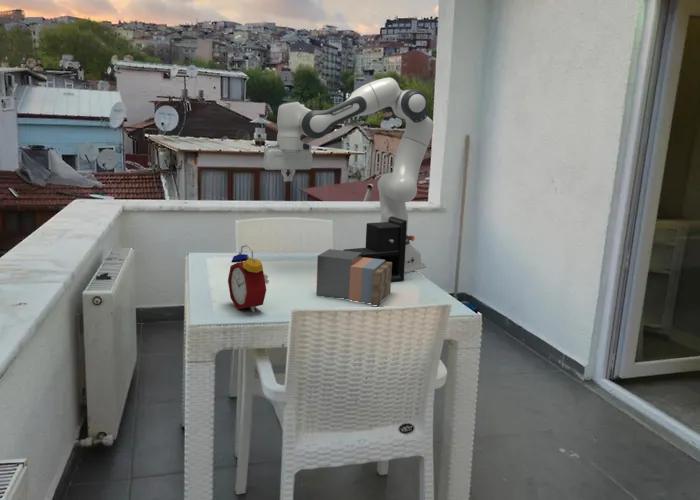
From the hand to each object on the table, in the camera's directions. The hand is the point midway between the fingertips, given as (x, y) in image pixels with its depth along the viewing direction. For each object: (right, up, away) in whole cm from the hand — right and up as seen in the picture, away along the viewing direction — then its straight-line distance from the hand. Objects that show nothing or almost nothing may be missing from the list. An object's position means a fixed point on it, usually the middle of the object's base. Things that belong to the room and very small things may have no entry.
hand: (288, 181), depth 219 cm
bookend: (+32, -38, -4) cm, 50 cm away
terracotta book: (+28, -42, -25) cm, 57 cm away
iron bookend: (+20, -42, -23) cm, 52 cm away
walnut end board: (+35, -43, -28) cm, 62 cm away
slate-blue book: (+32, -43, -27) cm, 59 cm away
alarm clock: (-7, -45, -43) cm, 62 cm away
